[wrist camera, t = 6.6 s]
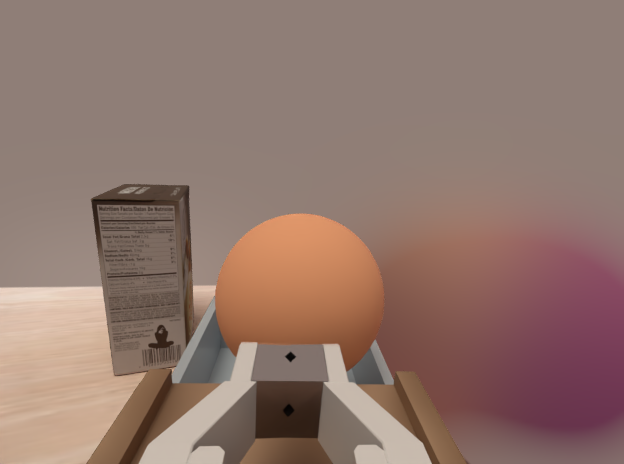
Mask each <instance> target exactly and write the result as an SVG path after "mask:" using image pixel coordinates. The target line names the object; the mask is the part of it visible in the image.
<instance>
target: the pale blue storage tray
mask: <svg viewBox="0 0 624 464" xmlns="http://www.w3.org/2000/svg"><path fill="white" fill-rule="evenodd" d="M235 360H236V357H235V356H234V355H233V353H232V352H231V351H230V349H229V348H228V346H227V344H226V343H225V341H224V339H223V336H222V334H221V331H220V328H219V325H218V321H217V317H216V308H215V296H214V298H213V300H212V301H211V303H210V305H209V307H208V309H207V311H206V313H205V314H204V316H203V318H202V320H201V322H200V324H199V325H198V327H197V329H196V331H195V333H194V335H193V337H192V338H191V340H190V342H189V344H188V346H187V348H186V349H185V351H184V353H183V355H182V357H181V359H180V361H179V362H178V364H177V366H176V368H175V370H174V372H173V373H172V383H223V382H224V381H230V378H231V375H232V371H233V367H234V364H235ZM347 376H348V380H349V382H354V383H355V384H382V385H394V380H393V378H392V376H391V374H390V371H389V369H388V367H387V365H386V362H385V360H384V358H383V356H382V354H381V351H380V349H379V347H378V345H377V342H376V340H374V342H373V344H372V345H371V347H370V349H369V350H368V351H367V353H366V354H365V355H364V356H363V358H362V359H361V360H360V361H359V362H358V363H357V364H356V365H355V366H354V367H353V368H351V369H350V370H349V371H347Z"/></svg>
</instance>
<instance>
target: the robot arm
mask: <svg viewBox="0 0 624 464" xmlns="http://www.w3.org/2000/svg"><path fill="white" fill-rule="evenodd" d="M263 438H318V441H319V443H320V444H321V446H322V447H323V449H324V450H325V452H326V454H327V455H328V457H329V458H330V460H331V461H332V463H333V464H432V463H431V461H430V458H429V456H428V454H427V452H426V450H425V447H424V445H423V443H422V442H421V441H420V440H418V439H417V438H416V437H415V436H414V435H413V434H412V433H411V432H409V431H408V430H407V429H406V428H405V427H404V426H403V425H402V424H400V423H399V422H398V421H397V420H396V419H395V418H394V417H392V416H391V415H390V414H389V413H388V412H387V411H386V410H385V409H383V408H382V407H381V406H380V405H379V404H378V403H377V402H376V401H374V400H373V399H372V398H371V397H370V396H369V395H368V394H366V393H365V392H364V391H363V390H362V389H361V388H360V387H359V386H357V385H356V384H355V383H354V382H349V380H348V376H347V372H346V368H345V364H344V361H343V357H342V353H341V349H340V345H339V344H286V343H263V342H258V343H257V342H241V344H240V345H239V349H238V353H237V356H236V360H235V364H234V367H233V371H232V375H231V378H230V381H224V382H223V383H222V384H220V385H219V386H218V387H217V388H216V389H214V390H213V391H212V392H211V393H210V394H208V395H207V396H206V397H205V398H204V399H202V400H201V401H200V402H199V403H198V404H196V405H195V406H194V407H193V408H192V409H190V410H189V411H188V412H187V413H186V414H184V415H183V416H182V417H181V418H180V419H178V420H177V421H176V422H175V423H174V424H172V425H171V426H170V427H169V428H167V429H166V430H165V431H164V432H163V433H161V434H160V435H159V436H158V437H157V438H155V439H154V440H153V441H152V442H151V443H149V444H148V446H147V448H146V450H145V452H144V454H143V456H142V458H141V460H140V462H139V464H239V463H240V462H241V460H242V459H243V457H244V456H245V455H246V453H247V452H248V450H249V449H250V447H251V446H252V445H253V443H254V442H255V439H263Z"/></svg>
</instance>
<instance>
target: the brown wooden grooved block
mask: <svg viewBox="0 0 624 464" xmlns="http://www.w3.org/2000/svg"><path fill="white" fill-rule="evenodd" d="M220 384H222V383H172V371H171V369H149V370H148V372H147V373H146V375H145V377H144V378H143V380H142V381H141V383H139V385H138V386H137V388H136V389H135V391H134V392H133V394H132V396H131V397H130V399H129V400H128V402H127V403H126V405H125V406H124V408H123V409H122V411H121V412H120V414H119V415H118V417H117V418H116V420H115V421H114V423H113V424H112V426H111V427H110V429H109V430H108V432H107V433H106V435H105V436H104V438H103V439H102V441H101V442H100V444H99V445H98V447H97V448H96V450H95V451H94V453H93V454H92V456H91V458H90V459H89V461H88V462H87V464H139V462H140V460H141V458H142V456H143V454H144V452H145V450H146V448H147V446H148V444H149V443H151V442H152V441H153V440H154V439H155V438H157V437H158V436H159V435H160V434H161V433H163V432H164V431H165V430H166V429H167V428H169V427H170V426H171V425H172V424H174V423H175V422H176V421H177V420H178V419H180V418H181V417H182V416H183V415H184V414H186V413H187V412H188V411H189V410H190V409H192V408H193V407H194V406H195V405H196V404H198V403H199V402H200V401H201V400H202V399H204V398H205V397H206V396H207V395H208V394H210V393H211V392H212V391H213V390H214V389H216V388H217V387H218V386H219V385H220ZM356 385H357V386H359V387H360V388H361V389H362V390H363V391H364V392H365V393H366V394H368V395H369V396H370V397H371V398H372V399H373V400H374V401H376V402H377V403H378V404H379V405H380V406H381V407H382V408H383V409H385V410H386V411H387V412H388V413H389V414H390V415H391V416H392V417H394V418H395V419H396V420H397V421H398V422H399V423H400V424H402V425H403V426H404V427H405V428H406V429H407V430H408V431H409V432H411V433H412V434H413V435H414V436H415V437H416V438H417V439H418V440H420V441H421V442H422V443H423V445H424V447H425V450H426V452H427V454H428V456H429V458H430V461H431V463H432V464H467V463H466V461H465V460H464V458H463V456H462V454H461V453H460V451H459V449H458V447H457V446H456V444H455V442H454V440H453V438H452V437H451V435H450V433H449V431H448V430H447V428H446V426H445V424H444V423H443V421H442V419H441V417H440V416H439V414H438V412H437V410H436V408H435V407H434V405H433V403H432V401H431V400H430V398H429V396H428V394H427V392H426V391H425V389H424V387H423V385H422V384H421V382H420V380H419V378H418V377H417V375H416V373H415V372H397V371H396V373H395V379H394V385H382V384H356ZM239 464H333V463H332V461H331V460H330V458H329V457H328V455H327V454H326V452H325V450H324V449H323V447H322V446H321V444H320V443H319V441H318V438H263V439H255V442H254V443H253V445H252V446H251V447H250V449H249V450H248V452H247V453H246V455H245V456H244V457H243V459H242V460H241V462H240V463H239Z"/></svg>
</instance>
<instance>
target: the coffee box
mask: <svg viewBox="0 0 624 464" xmlns="http://www.w3.org/2000/svg"><path fill="white" fill-rule="evenodd" d="M91 202H92V209H93V216H94V224H95V232H96V239H97V248H98V256H99V263H100V271H101V279H102V286H103V295H104V302H105V310H106V318H107V325H108V333H109V340H110V349H111V357H112V364H113V371H114V375H124V374H130V373H136V372H143V371H148V370H149V369H161V368H168V367H174V366H177V364H178V362H179V361H180V359H181V357H182V355H183V353H184V351H185V349H186V348H187V346H188V344H189V342H190V340H191V337H192V328H193V319H194V308H193V284H192V259H191V233H190V212H189V186H187V185H186V186H185V185H178V186H177V185H141V184H138V185H137V184H136V185H135V184H124V185H121V186H120V187H117V188H114V189H112V190H110V191H107V192H105V193H103V194H101V195H98V196H96V197H94V198H92V199H91Z"/></svg>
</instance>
